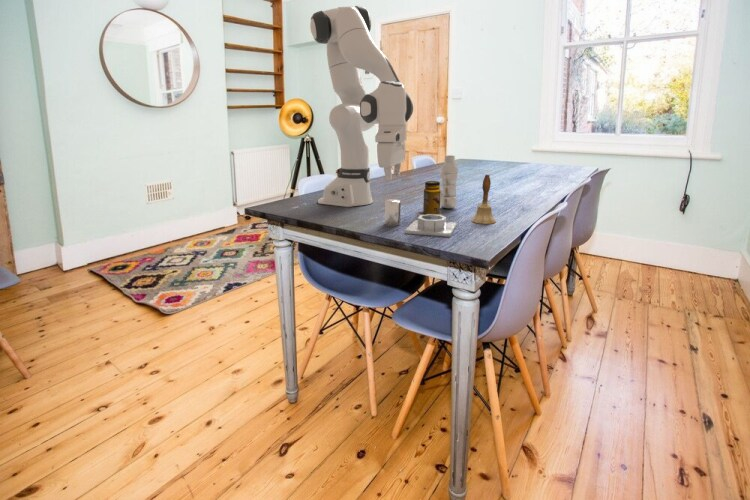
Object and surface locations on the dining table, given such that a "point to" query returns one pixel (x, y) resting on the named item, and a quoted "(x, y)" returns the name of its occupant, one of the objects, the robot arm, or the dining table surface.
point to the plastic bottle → (448, 183)
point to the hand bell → (484, 206)
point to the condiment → (431, 198)
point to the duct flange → (431, 226)
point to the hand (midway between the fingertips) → (392, 178)
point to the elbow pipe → (392, 212)
